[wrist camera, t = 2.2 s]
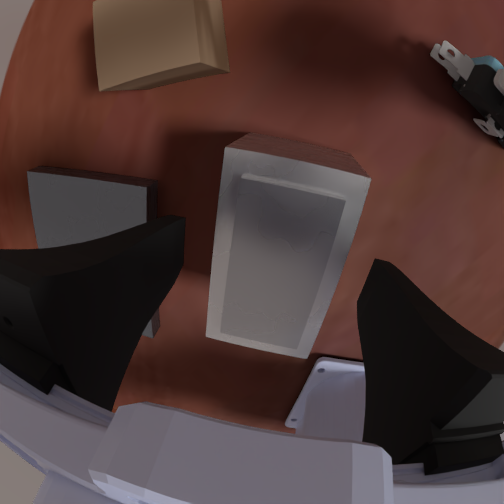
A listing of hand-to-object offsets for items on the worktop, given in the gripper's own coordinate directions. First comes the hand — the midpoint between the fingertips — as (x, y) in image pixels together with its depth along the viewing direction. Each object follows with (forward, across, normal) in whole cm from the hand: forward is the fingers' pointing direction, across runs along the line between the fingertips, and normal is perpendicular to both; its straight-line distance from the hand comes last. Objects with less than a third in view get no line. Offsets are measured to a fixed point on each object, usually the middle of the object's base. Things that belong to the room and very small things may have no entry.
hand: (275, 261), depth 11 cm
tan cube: (+4, +6, -8) cm, 11 cm away
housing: (+4, 0, 0) cm, 4 cm away
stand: (+4, +11, +4) cm, 12 cm away
